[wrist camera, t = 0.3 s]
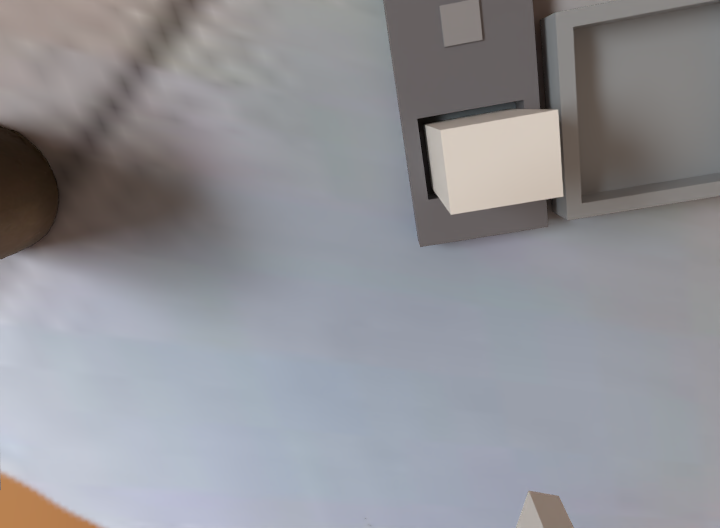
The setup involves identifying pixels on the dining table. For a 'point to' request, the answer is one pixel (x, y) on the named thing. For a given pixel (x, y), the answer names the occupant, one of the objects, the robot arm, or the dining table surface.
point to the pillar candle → (24, 193)
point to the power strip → (461, 93)
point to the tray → (634, 103)
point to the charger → (495, 159)
